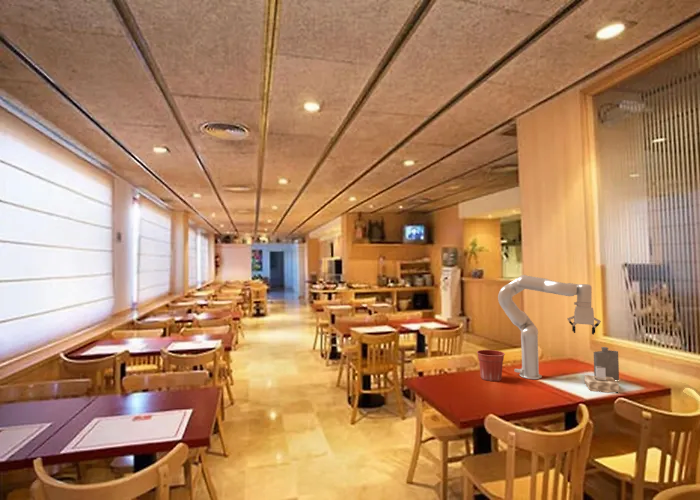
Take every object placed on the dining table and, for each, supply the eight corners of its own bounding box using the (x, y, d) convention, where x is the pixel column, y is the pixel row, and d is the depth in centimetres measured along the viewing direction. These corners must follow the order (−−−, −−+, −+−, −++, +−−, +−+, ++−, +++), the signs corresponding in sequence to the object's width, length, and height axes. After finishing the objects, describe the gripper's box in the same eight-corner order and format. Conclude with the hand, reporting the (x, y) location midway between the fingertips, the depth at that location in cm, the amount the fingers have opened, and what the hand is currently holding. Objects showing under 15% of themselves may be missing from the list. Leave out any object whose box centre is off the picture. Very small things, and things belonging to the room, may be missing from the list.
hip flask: (597, 382, 235) (596, 348, 236) (592, 380, 239) (591, 347, 240) (620, 380, 238) (619, 347, 239) (614, 379, 242) (613, 346, 243)
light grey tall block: (597, 387, 224) (597, 367, 224) (596, 385, 228) (595, 365, 228) (606, 387, 223) (605, 368, 223) (604, 385, 226) (603, 366, 227)
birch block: (589, 390, 221) (589, 381, 221) (584, 383, 234) (584, 374, 234) (619, 393, 216) (618, 384, 216) (612, 385, 229) (612, 377, 229)
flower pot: (501, 375, 254) (500, 349, 254) (508, 382, 237) (508, 355, 238) (474, 374, 255) (474, 349, 256) (480, 382, 239) (480, 355, 239)
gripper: (568, 304, 237) (567, 333, 237) (602, 306, 230) (601, 336, 230) (566, 303, 244) (566, 331, 243) (599, 305, 237) (599, 333, 237)
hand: (583, 333), depth 237 cm, fingers open, 9 cm apart
